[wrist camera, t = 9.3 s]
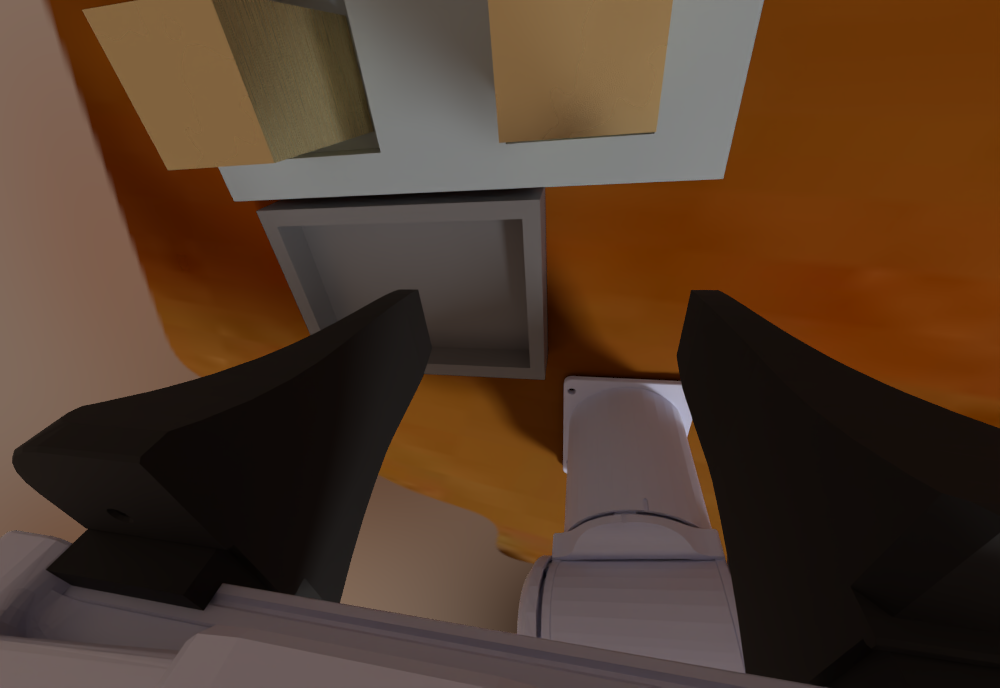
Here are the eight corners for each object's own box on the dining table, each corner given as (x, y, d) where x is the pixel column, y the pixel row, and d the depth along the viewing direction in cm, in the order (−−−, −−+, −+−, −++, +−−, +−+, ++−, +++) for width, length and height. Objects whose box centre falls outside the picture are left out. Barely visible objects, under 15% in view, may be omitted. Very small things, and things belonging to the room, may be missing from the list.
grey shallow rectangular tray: (548, 353, 24) (544, 379, 22) (345, 346, 27) (325, 368, 25) (544, 184, 18) (540, 199, 16) (287, 197, 21) (256, 211, 19)
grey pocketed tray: (706, 165, 17) (723, 178, 15) (267, 188, 21) (234, 201, 19) (772, -159, 12) (810, -205, 10) (173, -41, 16) (114, -56, 14)
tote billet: (374, 131, 17) (274, 163, 12) (295, 137, 18) (167, 170, 13) (346, 15, 15) (206, -13, 10) (258, 28, 16) (82, 10, 10)
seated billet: (630, 106, 15) (656, 131, 10) (529, 115, 16) (498, 142, 10) (643, -33, 13) (686, -105, 7) (524, -15, 14) (482, -69, 8)
